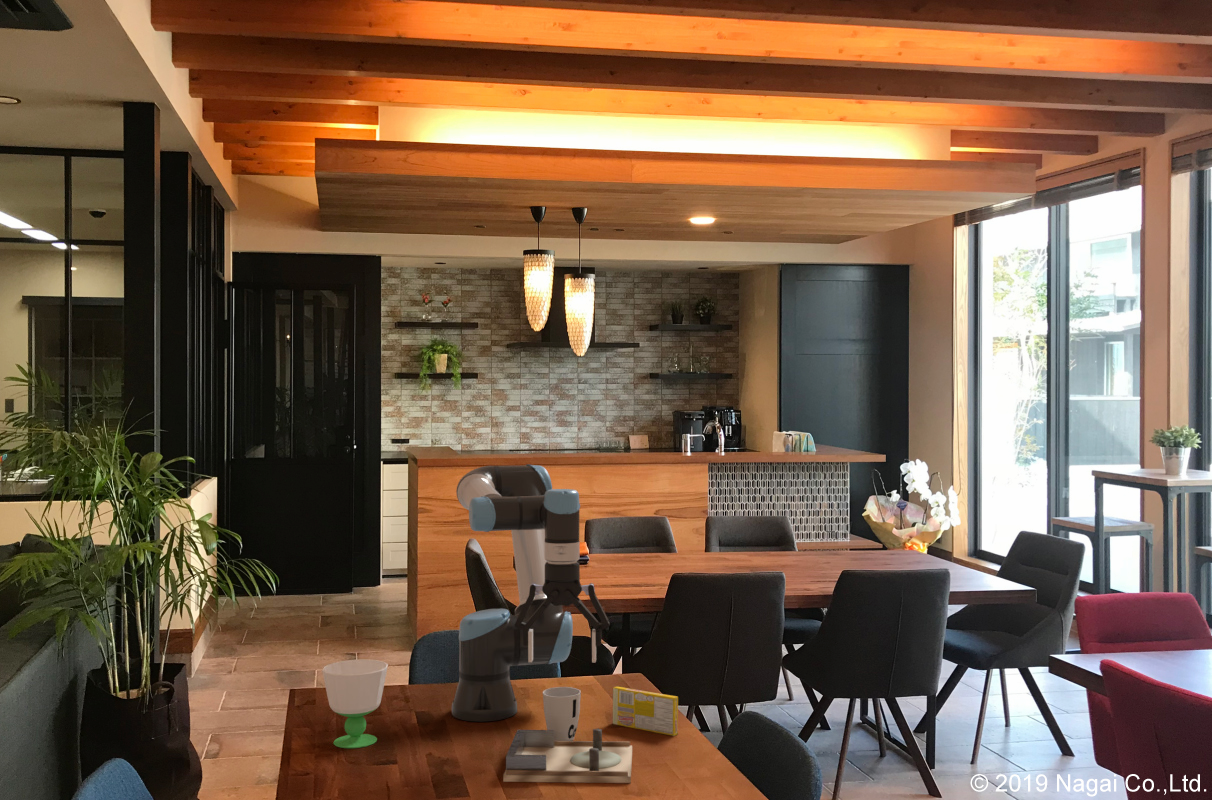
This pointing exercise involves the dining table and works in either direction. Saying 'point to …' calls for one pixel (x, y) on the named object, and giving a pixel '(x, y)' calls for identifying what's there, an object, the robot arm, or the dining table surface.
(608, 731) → the dining table surface
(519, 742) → the grey u-shaped bracket
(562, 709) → the cup
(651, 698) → the candy box
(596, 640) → the robot arm
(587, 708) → the dining table surface
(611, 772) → the jig
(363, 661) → the cup
